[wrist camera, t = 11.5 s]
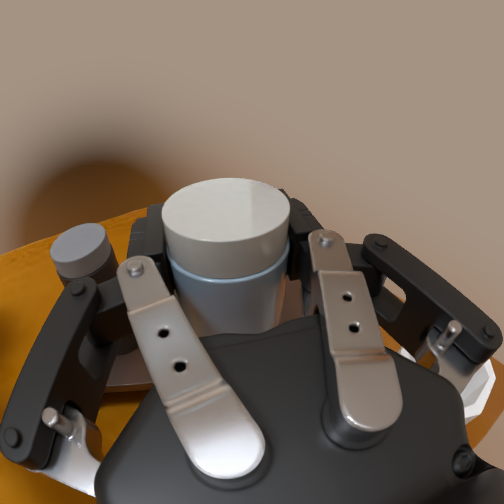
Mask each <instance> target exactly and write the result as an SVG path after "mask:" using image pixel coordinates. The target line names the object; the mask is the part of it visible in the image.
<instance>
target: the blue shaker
mask: <svg viewBox="0 0 504 504" xmlns="http://www.w3.org/2000/svg"><path fill="white" fill-rule="evenodd" d="M161 215H162V222H163V227H164V232H165V237H166V242H167V243H166V256H167V260H168V264H169V269H170V273H171V277H172V281H173V285H174V290H175V294H176V298H177V301H178V303H179V305H180V306H181V308H182V310H183V312H184V314H185V316H186V317H187V319H188V321H189V323H190V324H191V326H192V328H193V330H194V331H195V333H196V335H197V337H204V336H210V335H216V334H222V333H239V334H259V333H263V332H265V331H267V330H269V329H272V328H274V327H276V326H278V325H280V324H281V319H282V311H283V303H284V295H285V286H286V278H287V269H288V260H289V250H290V240H289V237H288V231H289V220H290V204H289V201H288V199H287V197H286V196H285V195H284V194H283V193H282V192H281V191H279V190H278V189H276V188H275V187H272V186H270V185H268V184H265V183H262V182H259V181H255V180H249V179H241V178H240V179H239V178H221V179H213V180H207V181H202V182H198V183H195V184H193V185H189V186H187V187H185V188H183V189H181V190H179V191H177V192H176V193H174V194H173V195H172V196H171V197H170V198H169V199H168V200H167V201H166V202H165V204H164V206H163V208H162V213H161Z"/></svg>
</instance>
